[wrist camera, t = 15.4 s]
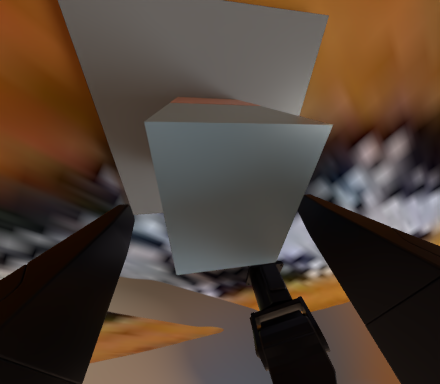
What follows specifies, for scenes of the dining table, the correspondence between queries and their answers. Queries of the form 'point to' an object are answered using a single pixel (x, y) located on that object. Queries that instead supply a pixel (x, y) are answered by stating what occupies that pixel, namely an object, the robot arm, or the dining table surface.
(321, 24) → the base plate
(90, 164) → the dining table surface
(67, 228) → the dining table surface
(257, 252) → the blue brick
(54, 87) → the dining table surface
